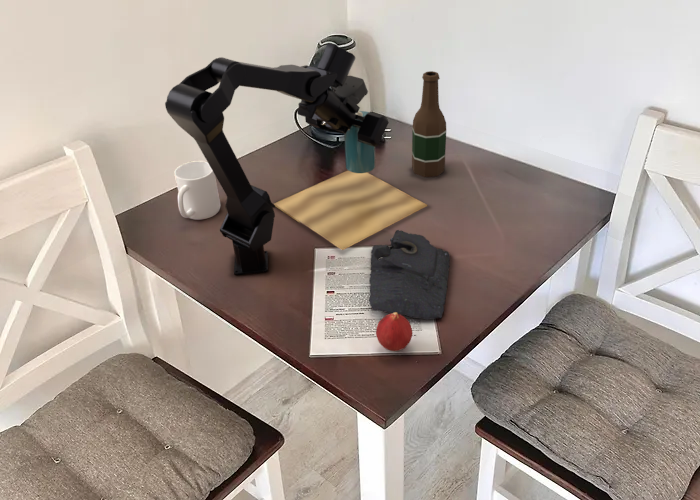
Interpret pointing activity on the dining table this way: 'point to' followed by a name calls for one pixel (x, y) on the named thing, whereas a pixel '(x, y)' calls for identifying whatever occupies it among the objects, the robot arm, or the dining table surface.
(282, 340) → the dining table surface
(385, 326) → the onion
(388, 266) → the dark slate chunk
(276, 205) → the mat
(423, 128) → the beer bottle
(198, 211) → the cup
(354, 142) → the pot
